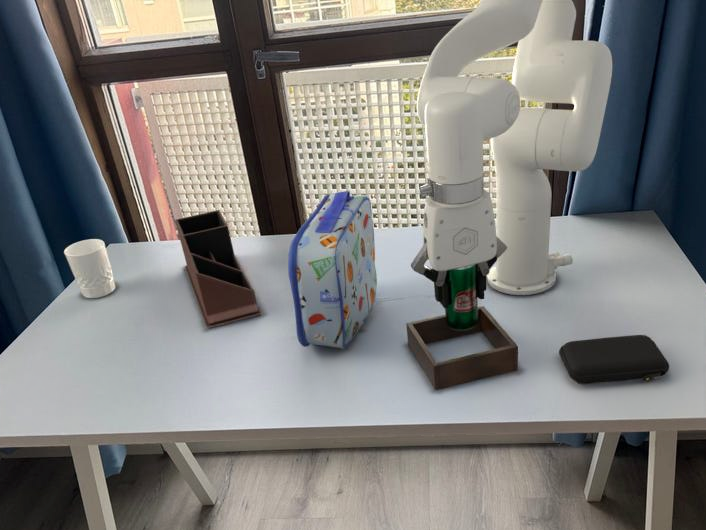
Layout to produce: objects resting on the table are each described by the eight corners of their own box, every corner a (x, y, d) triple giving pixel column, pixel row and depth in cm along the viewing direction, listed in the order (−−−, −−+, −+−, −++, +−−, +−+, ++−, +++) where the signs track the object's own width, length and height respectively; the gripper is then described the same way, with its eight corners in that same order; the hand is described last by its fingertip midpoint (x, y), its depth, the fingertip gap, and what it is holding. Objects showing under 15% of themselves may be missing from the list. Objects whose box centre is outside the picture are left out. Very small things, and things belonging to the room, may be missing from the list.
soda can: (457, 336, 108) (454, 267, 101) (439, 322, 112) (435, 254, 105) (484, 325, 110) (483, 256, 103) (466, 312, 113) (463, 244, 107)
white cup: (72, 298, 145) (55, 254, 140) (97, 280, 151) (82, 237, 146) (101, 301, 143) (86, 257, 137) (126, 283, 149) (112, 240, 143)
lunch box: (333, 283, 139) (318, 175, 127) (384, 283, 137) (374, 174, 125) (294, 361, 117) (271, 239, 105) (354, 363, 115) (338, 239, 103)
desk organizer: (232, 256, 155) (221, 208, 149) (262, 315, 132) (250, 260, 125) (184, 267, 152) (171, 219, 146) (207, 329, 129) (192, 275, 123)
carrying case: (573, 394, 103) (675, 385, 102) (574, 377, 101) (678, 368, 100) (555, 354, 112) (649, 345, 111) (556, 338, 110) (651, 329, 109)
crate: (483, 328, 120) (483, 305, 118) (517, 370, 109) (518, 346, 106) (408, 345, 118) (406, 323, 115) (435, 390, 107) (433, 366, 104)
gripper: (406, 209, 93) (416, 324, 104) (524, 184, 96) (522, 298, 106) (390, 190, 99) (401, 300, 110) (502, 166, 102) (502, 276, 112)
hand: (460, 298), depth 108 cm, fingers closed on soda can, 5 cm apart
